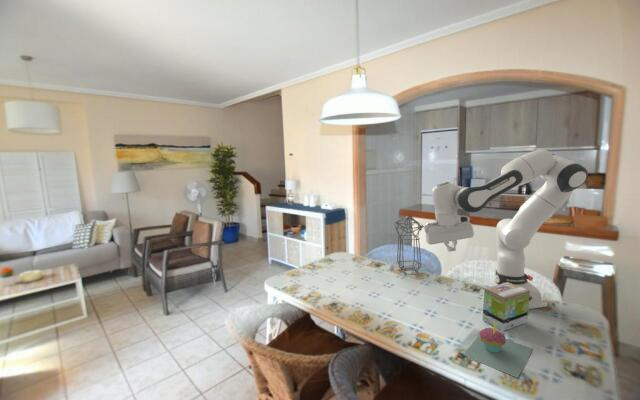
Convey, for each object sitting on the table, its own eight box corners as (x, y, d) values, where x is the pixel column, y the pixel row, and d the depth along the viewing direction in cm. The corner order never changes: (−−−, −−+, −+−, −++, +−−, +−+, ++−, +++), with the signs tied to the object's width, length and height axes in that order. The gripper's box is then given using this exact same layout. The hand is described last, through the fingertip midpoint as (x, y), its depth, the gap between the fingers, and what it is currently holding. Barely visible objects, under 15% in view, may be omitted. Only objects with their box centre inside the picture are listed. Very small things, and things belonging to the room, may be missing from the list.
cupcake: (510, 355, 105) (511, 323, 104) (487, 356, 105) (487, 325, 104) (496, 340, 114) (497, 311, 112) (474, 342, 114) (474, 312, 112)
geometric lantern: (398, 276, 177) (397, 218, 173) (394, 267, 193) (393, 214, 188) (425, 276, 175) (425, 217, 171) (419, 267, 191) (418, 213, 187)
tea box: (504, 332, 119) (506, 297, 117) (481, 320, 128) (483, 287, 126) (528, 322, 125) (530, 289, 123) (505, 311, 134) (506, 280, 132)
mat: (474, 328, 123) (474, 327, 123) (533, 349, 108) (533, 348, 108) (454, 351, 109) (454, 350, 109) (517, 379, 95) (517, 377, 95)
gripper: (426, 224, 126) (431, 256, 127) (473, 216, 127) (478, 248, 127) (421, 223, 133) (425, 253, 133) (465, 215, 133) (470, 245, 134)
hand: (451, 251), depth 130 cm, fingers closed
